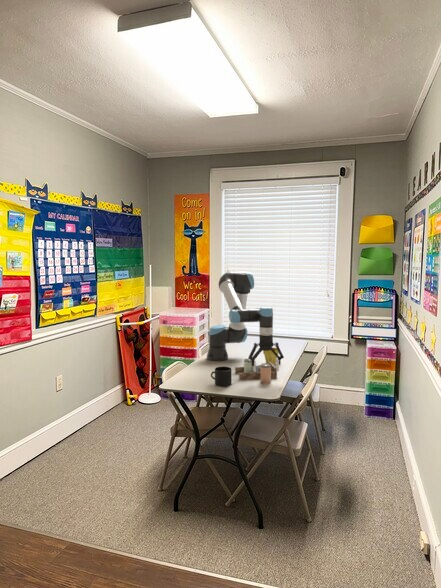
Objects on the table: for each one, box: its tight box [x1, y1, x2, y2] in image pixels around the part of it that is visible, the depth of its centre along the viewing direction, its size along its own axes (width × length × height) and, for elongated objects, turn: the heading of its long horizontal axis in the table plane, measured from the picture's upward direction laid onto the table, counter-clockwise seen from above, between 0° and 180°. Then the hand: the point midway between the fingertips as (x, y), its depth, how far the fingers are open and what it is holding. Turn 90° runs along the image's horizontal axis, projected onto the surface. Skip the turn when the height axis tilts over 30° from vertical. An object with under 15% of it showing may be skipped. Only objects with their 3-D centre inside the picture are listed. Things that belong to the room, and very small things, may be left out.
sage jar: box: [243, 358, 254, 373], centre depth 245 cm, size 6×6×10 cm
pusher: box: [256, 363, 261, 372], centre depth 246 cm, size 4×11×7 cm, turn 8°
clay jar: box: [259, 363, 272, 385], centre depth 232 cm, size 6×6×10 cm
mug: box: [210, 366, 232, 388], centre depth 228 cm, size 9×12×9 cm
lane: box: [234, 362, 278, 380], centre depth 246 cm, size 22×14×6 cm, turn 98°
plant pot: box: [262, 346, 279, 365], centre depth 274 cm, size 10×10×10 cm
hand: (266, 371), depth 232 cm, fingers open, 13 cm apart
